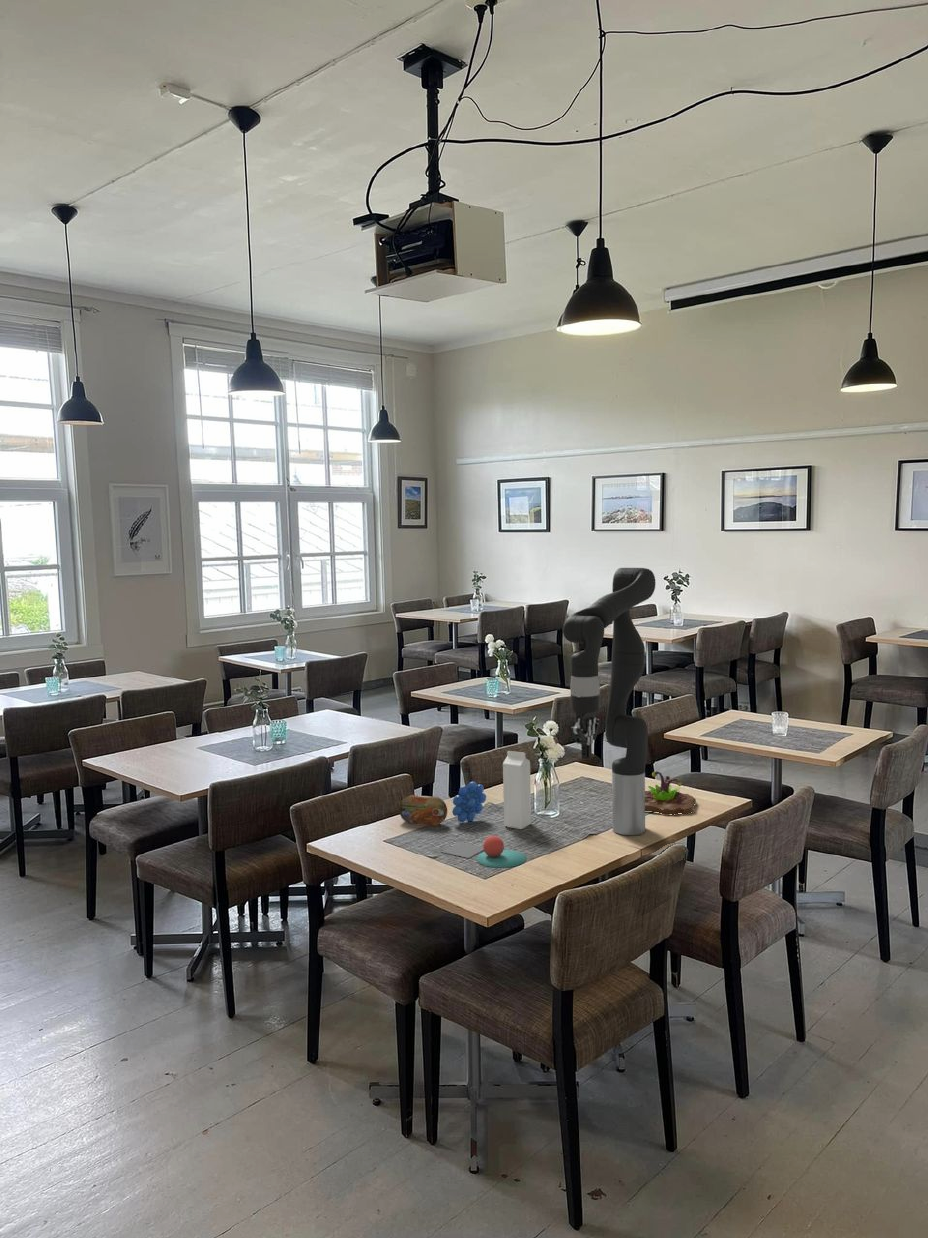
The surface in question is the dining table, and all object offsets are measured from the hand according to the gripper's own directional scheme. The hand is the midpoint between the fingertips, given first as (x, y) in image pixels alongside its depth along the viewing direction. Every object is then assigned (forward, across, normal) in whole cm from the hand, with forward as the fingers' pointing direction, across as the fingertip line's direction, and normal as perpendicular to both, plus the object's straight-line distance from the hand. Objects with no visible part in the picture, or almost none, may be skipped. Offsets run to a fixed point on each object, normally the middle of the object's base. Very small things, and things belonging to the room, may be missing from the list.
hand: (586, 758), depth 227 cm
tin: (+27, 0, -55) cm, 61 cm away
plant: (+28, -52, -1) cm, 60 cm away
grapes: (+27, -8, -45) cm, 53 cm away
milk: (+27, -13, -30) cm, 42 cm away
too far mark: (+26, +13, -31) cm, 43 cm away
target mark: (+26, +13, -19) cm, 35 cm away
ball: (+24, +13, -21) cm, 34 cm away
